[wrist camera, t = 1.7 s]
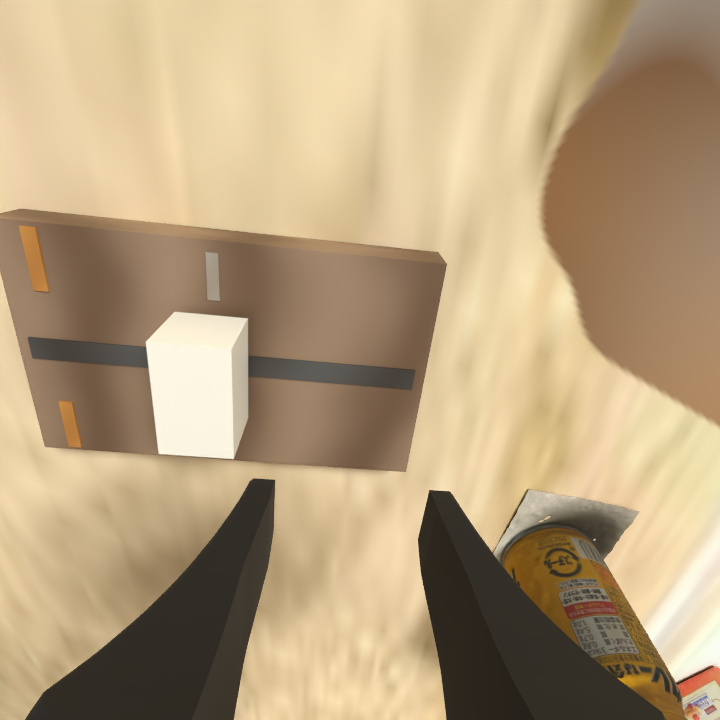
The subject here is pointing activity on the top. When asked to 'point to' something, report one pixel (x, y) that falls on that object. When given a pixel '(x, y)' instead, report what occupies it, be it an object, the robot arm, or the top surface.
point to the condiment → (586, 588)
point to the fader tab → (199, 384)
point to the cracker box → (702, 695)
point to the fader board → (232, 299)
